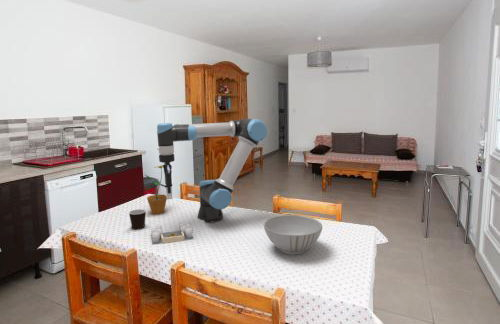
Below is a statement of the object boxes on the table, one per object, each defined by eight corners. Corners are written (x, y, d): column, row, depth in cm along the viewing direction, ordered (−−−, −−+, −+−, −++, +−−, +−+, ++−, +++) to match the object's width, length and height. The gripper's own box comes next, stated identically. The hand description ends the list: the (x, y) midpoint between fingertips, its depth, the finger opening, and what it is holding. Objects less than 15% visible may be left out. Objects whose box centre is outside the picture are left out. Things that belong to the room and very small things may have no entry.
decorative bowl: (308, 267, 141) (308, 240, 139) (253, 253, 155) (252, 227, 153) (329, 244, 164) (330, 220, 161) (279, 234, 178) (280, 211, 175)
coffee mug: (141, 232, 181) (140, 214, 179) (127, 231, 182) (125, 213, 181) (152, 225, 192) (151, 208, 190) (138, 224, 194) (137, 207, 192)
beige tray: (189, 231, 182) (189, 221, 181) (194, 241, 169) (193, 230, 168) (150, 236, 176) (150, 225, 175) (152, 247, 163) (151, 235, 162)
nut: (167, 237, 171) (167, 233, 171) (177, 236, 172) (176, 232, 172) (168, 240, 167) (167, 236, 167) (178, 239, 169) (178, 235, 168)
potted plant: (163, 206, 227) (160, 162, 222) (177, 212, 213) (175, 165, 208) (137, 212, 215) (134, 165, 210) (151, 219, 201) (148, 169, 196)
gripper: (157, 152, 177) (160, 196, 181) (159, 156, 165) (163, 203, 169) (172, 151, 179) (175, 194, 184) (175, 155, 167) (178, 201, 172)
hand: (169, 198), depth 176 cm, fingers closed
